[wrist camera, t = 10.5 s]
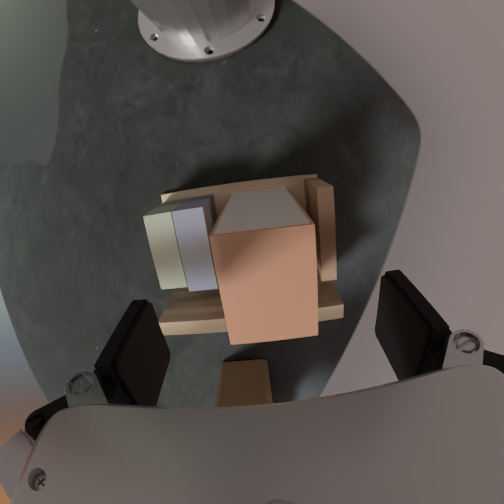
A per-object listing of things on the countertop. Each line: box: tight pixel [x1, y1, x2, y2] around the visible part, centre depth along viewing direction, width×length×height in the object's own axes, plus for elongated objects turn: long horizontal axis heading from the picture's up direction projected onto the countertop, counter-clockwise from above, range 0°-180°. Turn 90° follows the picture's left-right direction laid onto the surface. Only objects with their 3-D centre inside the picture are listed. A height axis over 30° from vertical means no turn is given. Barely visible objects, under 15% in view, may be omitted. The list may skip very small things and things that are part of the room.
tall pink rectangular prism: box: [209, 187, 318, 345], centre depth 20 cm, size 6×5×12 cm
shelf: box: [143, 174, 344, 335], centre depth 23 cm, size 10×14×8 cm
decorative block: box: [215, 359, 273, 407], centre depth 25 cm, size 11×6×20 cm, turn 7°
